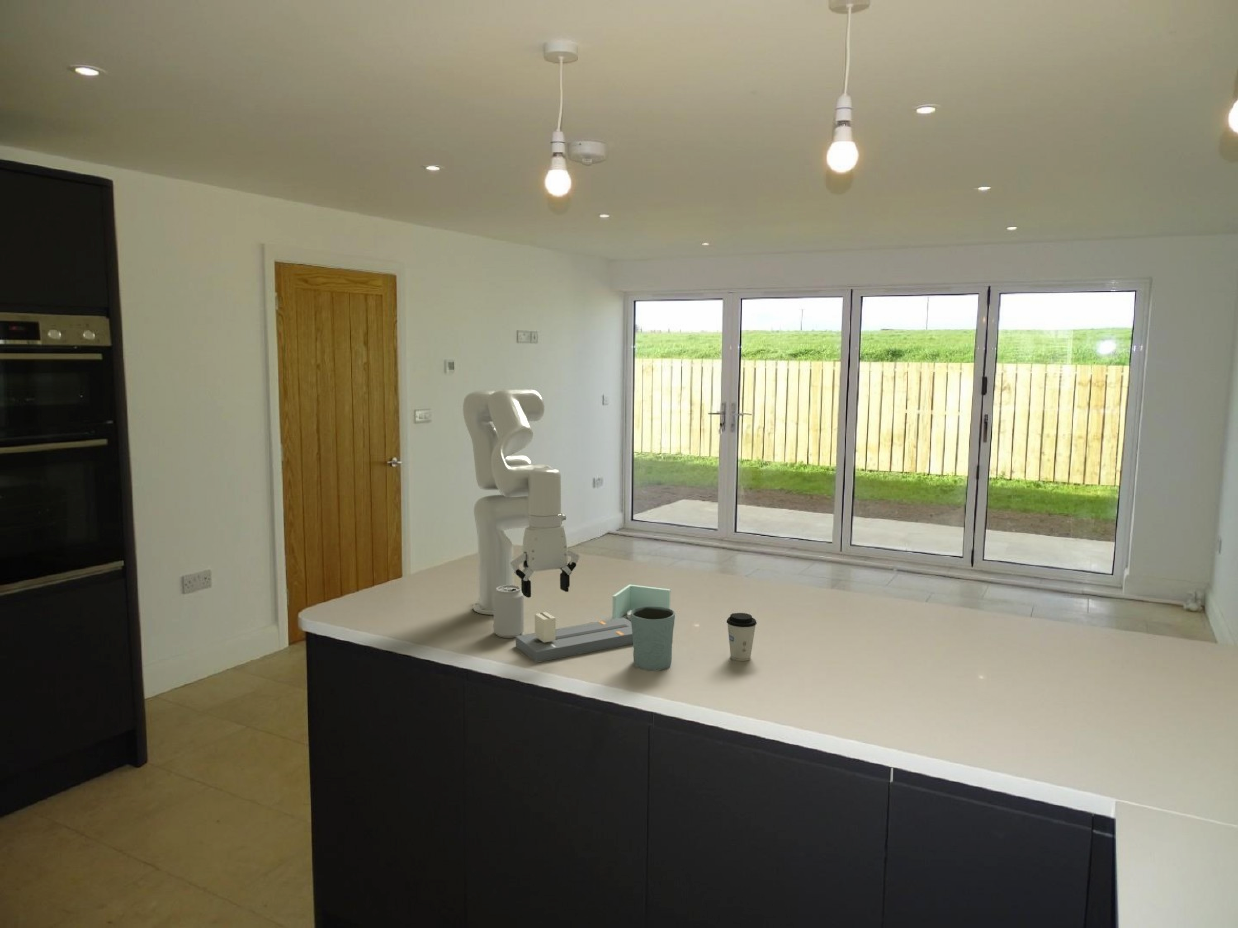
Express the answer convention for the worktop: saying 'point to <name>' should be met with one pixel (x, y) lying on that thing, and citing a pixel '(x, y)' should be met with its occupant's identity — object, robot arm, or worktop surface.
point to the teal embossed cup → (652, 637)
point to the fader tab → (545, 627)
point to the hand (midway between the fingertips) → (545, 593)
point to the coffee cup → (741, 635)
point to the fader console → (578, 639)
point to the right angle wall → (639, 599)
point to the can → (508, 611)
